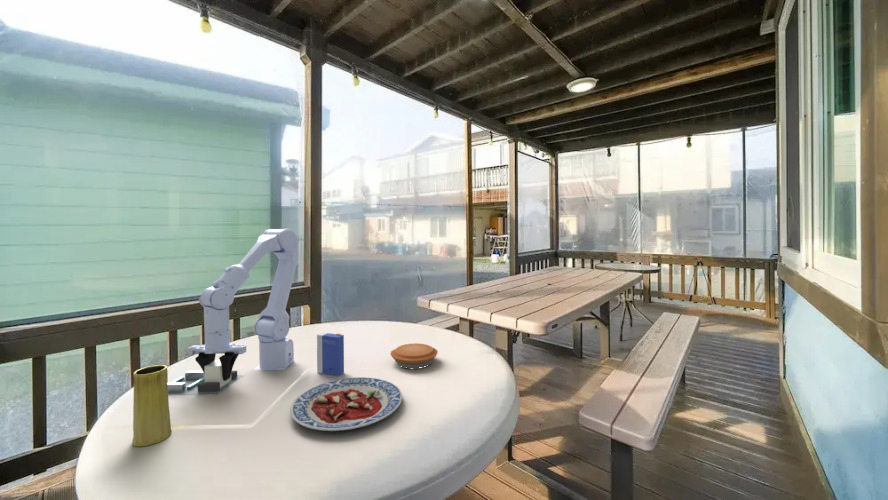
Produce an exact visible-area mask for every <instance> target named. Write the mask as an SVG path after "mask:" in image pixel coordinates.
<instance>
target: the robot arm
mask: <svg viewBox="0 0 888 500" xmlns="http://www.w3.org/2000/svg"><path fill="white" fill-rule="evenodd" d="M299 241H300V238H299V237H298V235H297V234H296V232H295V231H294V230H292V229H290V228H284V229H282V228H279V229H275V228H274V229H273V228H268V229H266V230H264V232H263V233H262V234H261V235H260V236H258V238H257V241H256V242H255V244H254V245H253V246H252V247H251V248H250V249H249V251H248V252H247V253H246V255H245V256H244V257H243V258H242V260H240V262H239V263H238V264H233V265H230V266H228V267H227V266H226V267H225V268H224V269H223V270H224V273H223V274H222V275H221V276H220V277H219V278H218V279H217V280H216V281H213V282H212V286H209V287H207V288H205V289H204V290H203V291H202V293H201V294H200V297H199V298H198V302H199V304H200V305H201V307H203V322H204V325H203V326H204V327H203V328H204V344H198V345H191V346H189V347H188V348H187V349H188V350H187V351H188V355H190V356H191V355H197V354H198V355H197V356H196V357H194V359H195V362H196V363H197V364H198V365H199V367H200V368H201V371H203V372H204V375H205V371H204V366H206V365H208V364H210V363H211V362H213V361H215V360H216V355H217V354H222V355H221V356H219V358H218V360H220V362H221V365H222V375H223V381H226V380H228V379H229V378H230V376H231V372H232V371H233V368H234V365H235V363H236V361H237V358H238V356H239V355H244V354H245V353H246V352H247V345H246V344H236V343H231V337H230V335H231V334H230V331H231V330H230V306H231V305H232V304H233V302H234V299H235V295H236V293H237V292H238V291H239V289H241V287H242V286H243V285H244V284H245V283H246V282H247V281H248V279H249V278H250V271H251V270H252V269H253V268H254V267H255V266H256V265H257V264H258V263H259V262H260V261H261V260H262V259H263V258H264V257H265V256H266V255H267V254H269V253H273V254H274V255H276V257H277V259H278V264H277V267H276V271H275V274H274V279H273V282H272V286H271V289H270V293H269V297H268V301H267V305H266V307H265V308H264V309H263V310H262V311H261V312H260V314H259V317H258V318H257V320H256V321H255V323H254V326H253V332H254V333H255V335H257V336H258V347H259V348H258V349H259V350H258V352H259V353H258V354H259V359H258V360H259V365H258V366H256V367H255V368H254V369H253V371H284V370H286V369H287V368H288V367H290V365H292V364H293V363H294V362H295V360H294V357H295V356H294V355H295V353H294V351H295V350H294V341H293V339H290V338H286V337H287V336H288V334H289V331H290V318H291V317H290V315H289V313H288V312H287V310H286V308H287V306H288V305H287V304H288V301H289V297H290V293H291V289H292V285H293V281H294V277H295V272H296V268H297V264H298V260H299V251H298V245H299Z"/></svg>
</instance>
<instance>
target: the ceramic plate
mask: <svg viewBox="0 0 888 500" xmlns="http://www.w3.org/2000/svg"><path fill="white" fill-rule="evenodd" d="M402 399H403V393H402V391H401V390H400V388H399V387H398V386H397V385H395V384H394V383H392V382H391V381H387V380H384V379H382V378H381V379H380V378H374V377H365V376H364V377H360V376H359V377H358V376H357V377H348V378H340V379H335V380H331V381H328V382H324V383H321V384H319V385H315V386H314V387H312V388H310V389H308V390H306V391H305V392H303V393H302V394H300V395H298V397H297V398H296V399H295V400H294V401H293V403H292V404H291V407H290V415H291V417H292V419H293V420H294V421H295V422H296V423H297V424H299V425H301V426H302V427H304V428H308V429H311V430H317V431H326V432H327V431H329V432H334V431H335V432H336V431H348V430H354V429H357V428H362V427H363V428H364V427H366V426H369V425H372V424H374V423H377V422H379V421H381V420H383V419H385V418H388V417H389V416H390V415H392V414H393V413H394V412H396V410H397V409H398V408H399V407H400V405H401V403H402Z"/></svg>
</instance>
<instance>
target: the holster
mask: <svg viewBox="0 0 888 500" xmlns="http://www.w3.org/2000/svg"><path fill="white" fill-rule="evenodd" d="M237 375H238V370H232V372H231V379H236V378H237ZM219 390H220V382H201V383H199V384H198V392H217V391H219Z"/></svg>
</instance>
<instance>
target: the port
mask: <svg viewBox="0 0 888 500" xmlns="http://www.w3.org/2000/svg"><path fill="white" fill-rule="evenodd" d="M184 378H185V380H191V379H199V380H198V381H196V382H194V383H192V384H191V385H189V386H187V390H190V389H192V388H194V387H195V386H197V385H198V384H199V383H201V382H203V381H205V375H204V372H203V370H187V371H186V372H184V376H180V377H178V378H176V379H175V380H173V381H171V382H168V392H183V391H185V390H186V382H182V383H179V382H181V381H182V380H184Z"/></svg>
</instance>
